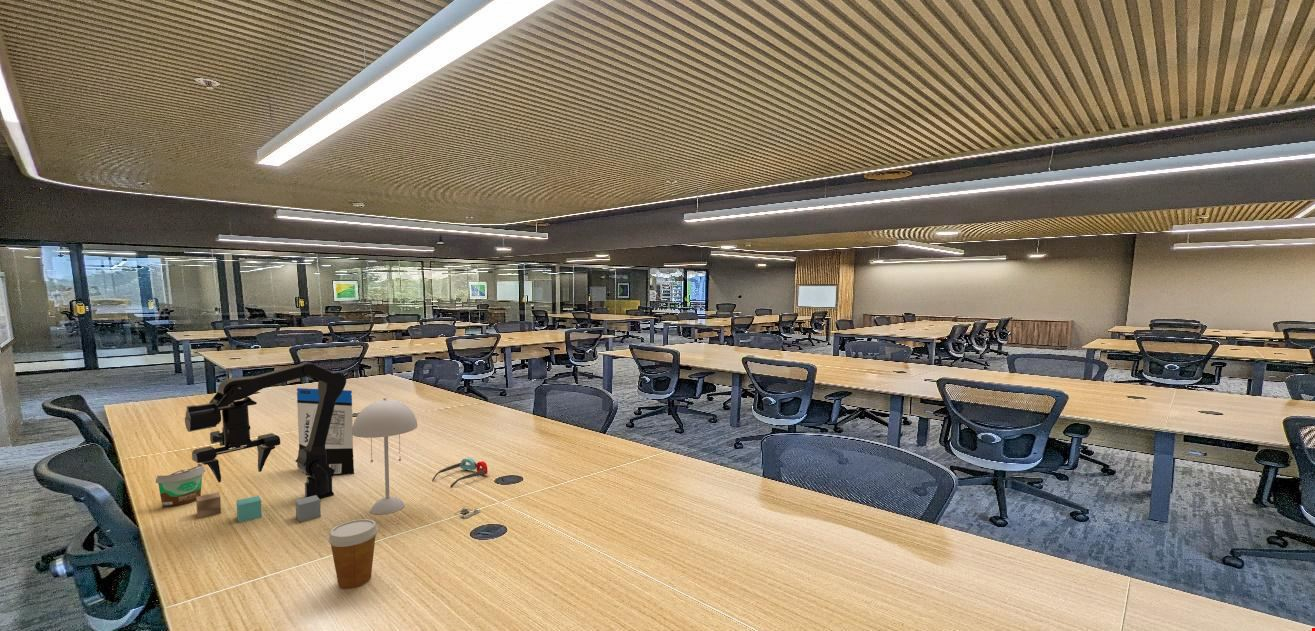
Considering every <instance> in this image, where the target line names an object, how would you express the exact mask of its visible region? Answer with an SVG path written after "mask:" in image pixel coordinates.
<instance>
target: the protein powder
mask: <svg viewBox="0 0 1315 631" xmlns="http://www.w3.org/2000/svg"><path fill="white" fill-rule="evenodd" d="M296 391H297V392H296V399H297V400H296V402H297V404H296V406H297V426H298V428H297V429H298V450H299V449H305V447H306V446H307V445H308V442H309V438H310V434H311V431H312V427H313V423H314V419H315V415H316V411H317V407H318V403H319V393H318V388H301V387H297V388H296ZM352 393H353V392H352V390H349V389H348V390H347V389H346V390H344V389H343V392H342V393H341V395H340V396H339V397H338V399H337V400H336V402H335V407H334V411H333V415H332V419H331V423H330V427H329V431H328V435H327V439H326V443H325V449H326V455H327V458H326V465H327V466H329V467H331V468H332V469H334V470H335V472H334V475H333V477H335V476H336V477H337V476H338V477H339V476H347V475H354V474H355V468H354V466H355V463H354V445H353V444H354V441H353V440H354V436H353V435H352V428H353V424H354V420H353V395H352ZM302 474H305V473H304V472H302Z"/></svg>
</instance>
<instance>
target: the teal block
mask: <svg viewBox="0 0 1315 631" xmlns="http://www.w3.org/2000/svg"><path fill="white" fill-rule="evenodd" d="M262 516H263V515H262V500H261V497H260V496H259V495H255V496H251V497H245V498H242V499H241V498H240V499H237V500H236V518H237V522H239V523H243V522H247V521H251V520H252V521H253V520H255V519H260V518H262Z"/></svg>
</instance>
